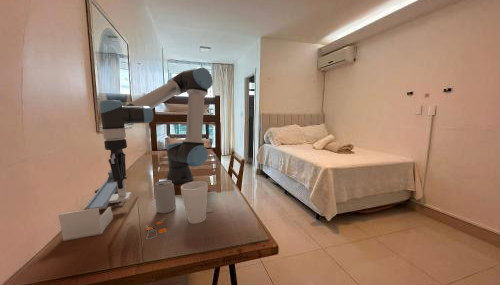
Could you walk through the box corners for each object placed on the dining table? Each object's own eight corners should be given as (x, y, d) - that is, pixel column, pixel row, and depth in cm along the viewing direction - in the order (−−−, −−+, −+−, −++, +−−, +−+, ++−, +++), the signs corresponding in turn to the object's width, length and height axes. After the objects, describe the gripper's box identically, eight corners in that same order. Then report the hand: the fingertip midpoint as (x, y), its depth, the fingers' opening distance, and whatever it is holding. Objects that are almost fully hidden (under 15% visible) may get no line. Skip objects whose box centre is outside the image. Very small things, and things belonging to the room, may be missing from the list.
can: (153, 210, 85) (150, 182, 83) (171, 204, 90) (168, 178, 88) (161, 216, 79) (158, 186, 78) (179, 209, 85) (176, 181, 83)
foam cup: (182, 216, 79) (179, 183, 77) (207, 210, 82) (204, 179, 81) (185, 228, 70) (182, 191, 68) (212, 221, 74) (209, 186, 72)
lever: (111, 178, 104) (110, 170, 102) (140, 174, 107) (138, 167, 106) (87, 210, 78) (85, 200, 77) (126, 205, 82) (124, 195, 80)
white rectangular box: (81, 223, 77) (77, 200, 76) (113, 218, 80) (110, 195, 79) (63, 240, 66) (58, 214, 65) (101, 234, 69) (97, 208, 68)
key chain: (167, 235, 67) (167, 233, 67) (142, 241, 64) (142, 239, 64) (167, 218, 79) (167, 216, 78) (146, 222, 76) (145, 220, 76)
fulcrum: (100, 203, 95) (98, 186, 94) (127, 199, 98) (125, 183, 97) (93, 211, 87) (90, 192, 86) (122, 206, 90) (119, 189, 89)
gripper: (110, 138, 88) (117, 191, 91) (97, 141, 76) (106, 202, 79) (130, 137, 90) (136, 189, 93) (120, 140, 78) (128, 199, 81)
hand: (122, 195), depth 86 cm, fingers closed
